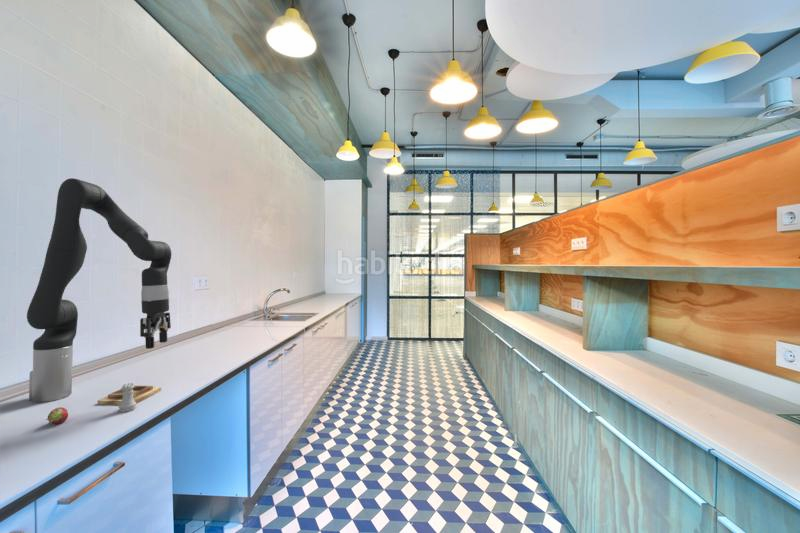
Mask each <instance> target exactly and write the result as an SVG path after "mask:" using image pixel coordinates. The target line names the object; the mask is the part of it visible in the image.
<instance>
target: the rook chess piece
mask: <svg viewBox="0 0 800 533" xmlns="http://www.w3.org/2000/svg"><path fill="white" fill-rule="evenodd" d="M135 386H136V385H134V383H132V382H131V383H130V382H128V383H125V384H123V385H122V387H121V388H120V389H122V390H123V393H122V394H123V398H122V402H121V403H120V405H118V408H119V409H117V410H118V412H119V413H128V412H133V411H134V410H135V409H136V408H137V404H136V402H135V400H134V399H133V392H134V391H133V388H134V387H135Z"/></svg>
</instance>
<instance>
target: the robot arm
mask: <svg viewBox="0 0 800 533" xmlns="http://www.w3.org/2000/svg"><path fill="white" fill-rule="evenodd" d="M56 197H57V199H56V207H55V216H54V221H53V222H54V223H53V226H52V231H51V235H50V239H49V242H48V245H47V249H46V252H45V258H44V262H43V265H42V266H43V267H42V269H41V273H40V276H39V280H38V284H37V286H36V290H35V291H34V294H33V296H32V298H31V301H30V304H29V306H28V309H27V311H26V320H27V323H28V325H29V326H30V327H31V328H34V329H36V330H44V332H43V333H42V334H41V335H40V336H38V337H37V338H36V339H35V340H33V343H32V370H31V371H29V382H28V383H29V384H28V385H29V390H28V400H29V401H32V402H33V403H46V402H53V401H57V400H60V399H63V398H66V397H69V396H70V395H72V388H73V387H72V386H73V385H72V384H73V355H74V354H73V352H74V351H73V342H74V339H75V337H76V335H77V329H78V317H79V314H78V313H79V312H78V308H77V306H76V304H75V303H74V301H71V300H68V299H63V295H64V292H65V290H66V289H67V286H68V285H69V284H70V282H71V281H72V280H73V279H74V278H75V276H76V275H77V274H78V273H79V272H80V270H81V268H82V267H83V265H84V263H85V259H86V253H87V250H88V245H87V244H88V243H87V240H86V238H85V236H84V233H83V231H82V229H81V228H82V227H81V224H80V217H81V212H82V209H85V210H91V211H92V212H93V211H94V212H95V213H96V214H99V215H100V216H101V217H102V218H104V219H105V220H106V223H107V224H108V227H109V229H110V230H111V231H112V233H113V234H115V235H116V236H117V237H118V238H119V239H120V240H122V241H123V242H124V243H125V244H127V246H128V248H129V250H130V251H131V253H132V254H133V255H134V256H135V257H136V258H137V259H140V260H141V261H145V262H150V266H149V267H148V268H144V269H143V270H142V271H141V293H140V295H141V297H140V298H141V299H140V300H141V301H140V302H141V313H142V314H146V317H142V318H140V320H139V322H140V325H139V326H140V332H139V333H140V334H139V336H140V337H141V338H142V337H143V338H145V349H147V350H148V349H154V348H155V336H154V335H155V334H156V332H157V331H158V333H159V335H158V336H159V337H158V339H159V340H158V341H159V343H163V344H164V343H167V342H168V331H169V329H171V327H172V326H171V314H170V297H169V294H170V292H169V287H168V271H169V267H170V264H171V259H172V250H171V246H170V245H169V244H168V243H167V242H165V241H161V240H150V239H149V234H148V232H147V231H146V229H144V228H143V227H142V226H141V225H140V224H138V223H137V222H136V221H134V220H133V218H131V217H130V216H129V215H127V213H125V212H124V211H123V210H122V209H121V207H120V206H119V205H118V204H117V203H116V202H115V201H114V199H113V198H112V197H111V196H110V195H109V194H108V193H107V191H105V189H104V188H102V187H101V186H99V185H97V184H94V183H91V182H88V181H85V180H81V179H78V178H68V179H65V180H64V181H63V182H61V184H60V186H59V188H58V192H57V196H56Z"/></svg>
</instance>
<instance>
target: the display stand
mask: <svg viewBox="0 0 800 533" xmlns="http://www.w3.org/2000/svg"><path fill="white" fill-rule="evenodd" d="M134 386H135V387H134V388H133V391H134V392H133V399H134V400H135V402H136V405H137V404H138V403H141V402H142V401H145V400H146V399H148V398H150V397H152V396H154V395H156V394H157V393H160V392H162V387H159V386H157V387H156V386H155V387H154V386H153V385H134ZM122 393H123V390H122V389H121V388H120V389H118V390H116V391H114V392H111V393H109V394H107V395H106V396H105V397H103V398H100V399H98V400H97V405H118V406H119V405H120V403H121V402H122V398H123V394H122Z"/></svg>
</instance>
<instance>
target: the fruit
mask: <svg viewBox="0 0 800 533" xmlns="http://www.w3.org/2000/svg"><path fill="white" fill-rule="evenodd" d="M68 417H69V413H68V410H67V408H65V407H59V406H58V407H56V408H54V409H52V410H51V411H50V412H49V413H48V415H47V418H46V419H45V420H46V421H48V424H49V425H51V424H53V425H60V424H62V423H64V422H65V421H67V419H68Z"/></svg>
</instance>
